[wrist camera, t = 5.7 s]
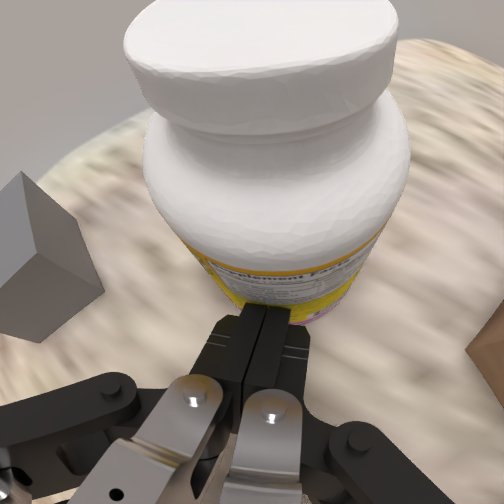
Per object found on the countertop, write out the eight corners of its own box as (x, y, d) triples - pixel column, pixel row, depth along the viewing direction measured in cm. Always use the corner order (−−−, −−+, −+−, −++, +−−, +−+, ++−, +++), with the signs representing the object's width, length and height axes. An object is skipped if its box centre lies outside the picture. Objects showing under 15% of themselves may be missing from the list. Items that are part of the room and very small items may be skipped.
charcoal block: (76, 219, 19) (21, 170, 13) (105, 291, 17) (36, 252, 11) (19, 269, 18) (-40, 236, 13) (40, 343, 16) (-32, 322, 10)
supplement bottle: (231, 200, 18) (151, -27, 6) (352, 208, 16) (404, -33, 5) (210, 321, 15) (2, 155, 3) (348, 334, 14) (530, 167, 2)
